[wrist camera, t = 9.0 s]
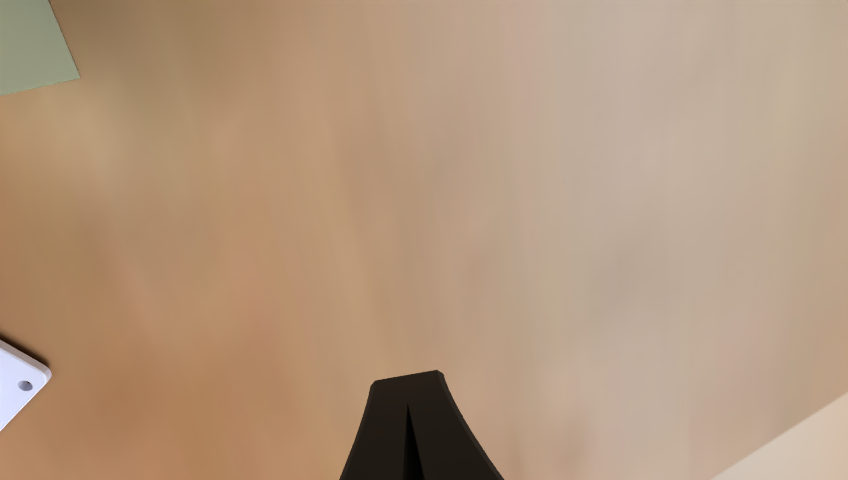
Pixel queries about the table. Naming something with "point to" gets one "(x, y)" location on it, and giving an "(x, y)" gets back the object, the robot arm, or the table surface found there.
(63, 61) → the pale green block
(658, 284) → the table surface
